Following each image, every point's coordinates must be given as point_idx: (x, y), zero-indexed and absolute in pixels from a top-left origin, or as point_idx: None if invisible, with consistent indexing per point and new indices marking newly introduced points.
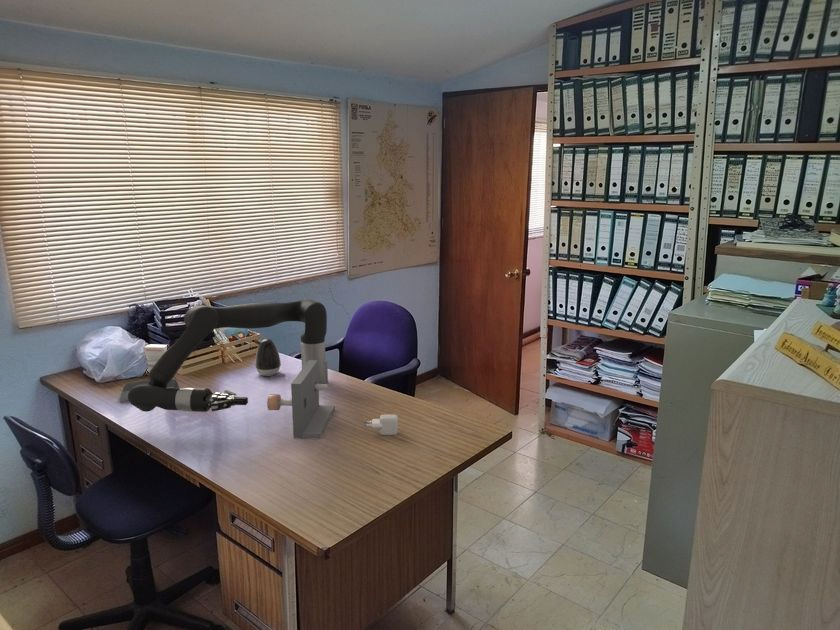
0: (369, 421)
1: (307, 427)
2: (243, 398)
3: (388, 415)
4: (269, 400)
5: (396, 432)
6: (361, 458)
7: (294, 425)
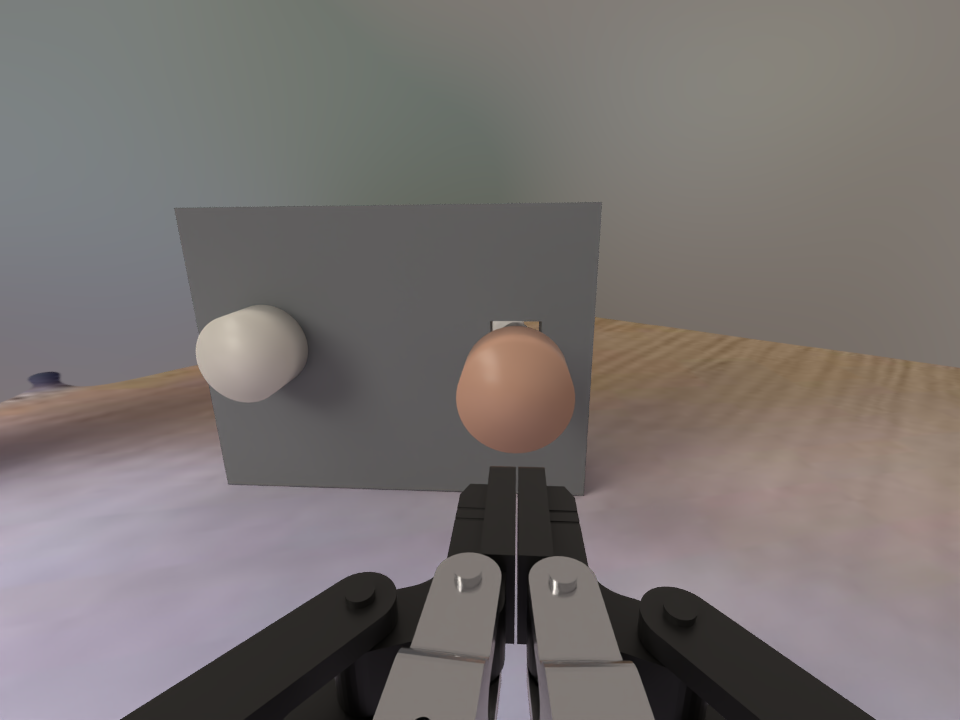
0: None
1: None
2: (538, 479)
3: None
4: (565, 364)
5: None
6: (668, 378)
7: (586, 432)
